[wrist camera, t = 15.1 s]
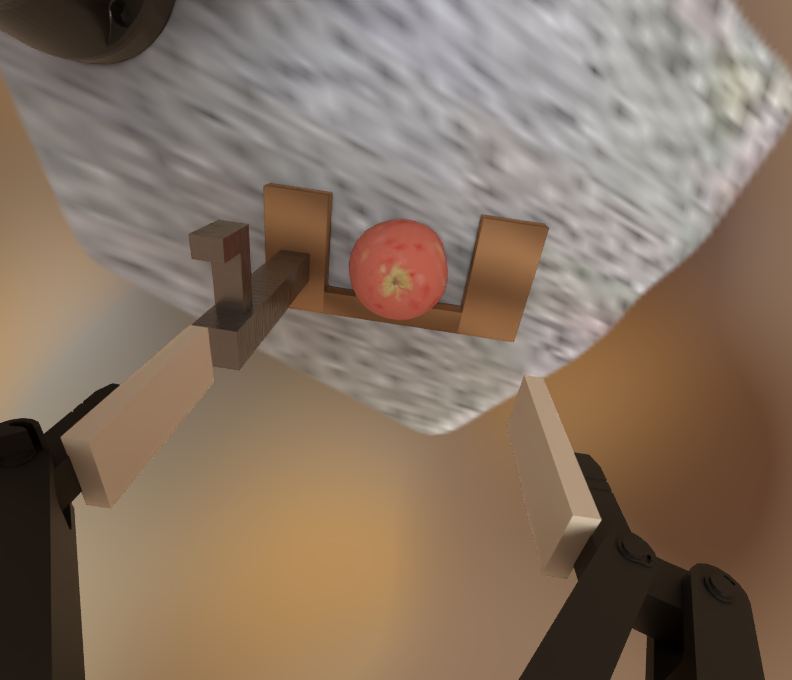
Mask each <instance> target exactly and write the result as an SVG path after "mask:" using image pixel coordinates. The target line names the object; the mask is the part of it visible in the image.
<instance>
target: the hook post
mask: <svg viewBox="0 0 792 680" xmlns="http://www.w3.org/2000/svg"><path fill="white" fill-rule="evenodd" d="M189 241H190V249H191V257H192V259H196V260H203V261H210V262H211V264H212V274H213V284H214V295H215V305H214V306H213V307H212V308H211V309H210V310H208V311H207V312H206V313H205V314H204V315H202V316H201V317H200V318H199V319H198V320H197V321H195V322H194V323H193V324H192V325H194V326H200V327H207V328H208V333H209V342H210V350H211V359H212V366H215V367H221V368H228V369H234V370H240V369H241V368H242V366H243V365H244V364H245V363H246V361H247V360H248V359H249V357H250V356H251V355H252V354H253V352H254V351H255V350H256V348H257V347H258V346H259V345H260V343H261V342H262V341H263V340H264V338H265V337H266V336H267V334H268V333H269V332H270V331H271V329H272V328H273V327H274V325H275V324H276V323H277V322H278V320H279V319H280V318H281V316H282V315H283V314H284V313H285V311H286V310H287V309H288V307H289V306H290V305H291V304H292V302H293V301H294V300H295V299H296V297H297V296H298V295H299V293H300V292H301V291H302V290H303V288H304V287H305V286H306V284H307V283H308V282H309V263H310V254H308V253H301V252H295V251H288V250H280V251H278V252H277V253H276V254H275V255H274V256H273V257H271V258H270V259H269V260H268V261H267V262H265V263H264V264H263V265H262V266H261V267H259V268H258V269H257V270H256V271H255V272H254V273H252V274H251V264H250V244H249V224H243V223H236V222H229V221H223V220H218V221H215V222H213V223H211V224H209V225H207V226H205V227H202V228H200V229H198V230H196V231H194V232H192V233H190V234H189Z"/></svg>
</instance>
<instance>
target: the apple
mask: <svg viewBox="0 0 792 680" xmlns="http://www.w3.org/2000/svg"><path fill="white" fill-rule="evenodd" d="M349 275H350V280H351V284H352V287H353V290H354V292H355V294H356V296H357V298H358V299H359V300H360V302H361V303H362V304H363V305H364V306H365V307H366V308H367V309H369V310H370V311H372V312H373V313H374V314H377V315H379V316H382V317H384V318H388V319H394V320H408V319H412V318H415V317H418V316H421V315H422V314H424V313H426V312H428V311H429V310H430V309H431V308H432V307H434V306H435V305H436V304H437V303H438V301H439V299H440V298H441V296H442V295H443V293H444V291H445V287H446V284H447V261H446V255H445V252H444V248H443V244H442V242H441V241H440V239H439V237H438V236H437V234H436V233H435V232H434V231H433V230H431V229H430V228H428V227H427V226H426V225H423V224H420V223H417V222H415V221H409V220H390V221H386V222H383V223H379V224H377V225H375V226H374V227H372V228H370V229H368V230H367V231H366V232H365V233H364V234H363V235H362V236H361V237H360V238H359V239H358V240H357V242H356V244H355V246H354V248H353V251H352V253H351V257H350V261H349Z"/></svg>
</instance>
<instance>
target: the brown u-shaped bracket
mask: <svg viewBox="0 0 792 680" xmlns="http://www.w3.org/2000/svg"><path fill="white" fill-rule="evenodd" d="M331 209H332V192H327V191H320V190H314V189H307V188H300V187H293V186H287V185H280V184H273V183H269V184H267V185H264V218H265V252H266V262H267V261H268V260H269V259H270V258H271V257H273V256H274V255H275V254H276V253H277V252H278V251H280V250H288V251H295V252H301V253H308V254H310V263H309V282H308V283H307V284H306V286H305V287H304V288H303V290H302V291H301V292H300V293H299V295H298V296H297V297H296V299H295V300H294V301H293V302H292V304H291V305H290V306H289V307H288V308H293V309H299V310H306V311H313V312H319V313H326V314H332V315H339V316H345V317H352V318H359V319H365V320H372V321H378V322H385V323H391V324H398V325H404V326H411V327H418V328H424V329H431V330H437V331H444V332H450V333H457V334H464V335H470V336H477V337H483V338H490V339H496V340H503V341H509V342H514V341H515V337H516V334H517V331H518V328H519V324H520V321H521V318H522V315H523V311H524V308H525V305H526V302H527V298H528V295H529V292H530V289H531V285H532V282H533V279H534V276H535V273H536V269H537V266H538V263H539V260H540V256H541V253H542V250H543V247H544V243H545V240H546V237H547V234H548V230H549V228H548V227H547V226H546V225H545V224H543V223H536V222H529V221H523V220H516V219H509V218H502V217H496V216H489V215H482V216H481V220H480V225H479V229H478V234H477V238H476V242H475V247H474V251H473V256H472V260H471V265H470V269H469V274H468V278H467V283H466V287H465V291H464V296H463V300H462V305H461V306H457V305H451V304H444V303H437V304H436V305H435V306H434V307H432V308H431V309H430V310H429V311H428V312H426V313H424V314H422V315H421V316H418V317H415V318H412V319H408V320H394V319H388V318H384V317H382V316H379V315H377V314H374V313H373V312H372V311H370V310H369V309H367V308H366V307H365V306H364V305H363V304H362V303H361V302H360V300H359V299H358V298H357V296H356V294H355V292H354V290H352V289H345V288H339V287H332V286H328V272H329V251H330V230H331Z"/></svg>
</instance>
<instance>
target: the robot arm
mask: <svg viewBox="0 0 792 680" xmlns="http://www.w3.org/2000/svg"><path fill="white" fill-rule="evenodd" d="M173 3H174V0H0V29H1V30H2V31H4V32H6V33H8V34H9V35H11V36H13V37H14V38H16V39H18V40H20V41H21V42H23V43H25V44H27V45H29V46H31V47H33V48H35V49H37V50H40V51H42V52H45V53H48V54H50V55H53V56H57V57H60V58H65V59H70V60H76V61H82V62H88V63H96V64H107V63H115V62H120V61H123V60H126V59H128V58H131V57H133V56H135V55H137V54H138V53H140V52H141V51H143V50H144V49H145V48H146V47H147V46H149V45H150V44H151V43H152V42H153V40H154V39H155V38H156V37H157V36H158V34H159V33H160V31H161V30H162V28H163V27H164V25H165V23H166V21H167V19H168V17H169V14H170V12H171V9H172V6H173ZM213 383H214V376H213V367H212V359H211V350H210V342H209V333H208V328H207V327H200V326H194V325H189V326H188V327H186V328H185V329H184V330H183V331H182V332H181V333H180V334H178V335H177V336H176V337H175V338H174V339H173V340H172V341H170V342H169V343H168V344H167V345H166V346H165V347H164V348H162V349H161V350H160V351H159V352H158V353H157V354H155V356H153V357H152V358H151V359H150V360H149V361H147V362H146V363H145V364H144V365H143V366H142V367H140V368H139V369H138V370H137V371H136V372H135V373H134V374H132V375H131V376H130V377H129V378H128V379H127V380H126V381H125V382H123V383H122V384H121V385H118V384H113V383H112V384H110V385H108V386H106V387H104V388H102V389H99V390H97V391H95V392H94V393H93V394H92V395H91V396H89V397H88V398H87V399H86V400H84V401H83V404H80V405H78V406H77V407H76V408H75V409H74V410H73V412H70V413H69V414H68V415H66V416H65V417H64V418H63V419H61V420H60V421H59V422H58V423H57V424H55V425H54V426H53V427H52V428H51V429H49V430H48V431H47V432H46V433H44V434H43V431H42V429H41V426H40V424H39V422H38V421H35V420H33V419H27V418H20V419H13V420H8V421H5V422H2V423H0V680H85V670H84V654H83V639H82V623H81V609H80V608H81V607H80V593H79V576H78V561H77V544H76V529H75V514H74V507H73V505H72V503H71V502H72V501H73V500H74V499H75V498H76V497H77V496H78V495H79V494H80V492H82V495H83V497H84V500H85V503H86V505H92V506H98V507H104V508H112V507H113V506H114V505H115V503H116V502H117V501H118V500H119V498H120V497H121V496H122V495H123V493H124V492H125V491H126V490H127V489H128V487H129V486H130V485H131V484H132V482H133V481H134V479H136V477H137V476H138V475H139V473H141V471H142V470H143V469H144V468H145V466H146V465H147V464H148V463H149V462H150V460H151V459H152V457H154V455H155V454H156V453H157V451H158V450H159V449H160V448H161V447H162V446H163V444H164V443H165V442H166V441H167V439H168V438H169V437H170V435H171V434H172V433H173V432H174V431H175V430H176V428H177V427H178V426H179V425H180V423H181V422H182V421H183V420H184V418H185V417H186V416H187V415H188V413H189V412H190V411H191V410H192V409H193V407H194V406H195V405H196V404H197V403H198V401H199V400H200V399H201V398H202V396H203V395H204V394H205V393H206V391H207V390H208V389H209V388H210V387H211V385H212V384H213ZM507 429H508V433H509V438H510V442H511V446H512V450H513V454H514V459H515V463H516V467H517V471H518V476H519V480H520V485H521V488H522V493H523V497H524V502H525V506H526V510H527V514H528V518H529V522H530V527H531V531H532V536H533V540H534V544H535V549H536V553H537V557H538V561H539V565H540V570H541V574H542V575H546V576H552V577H559V578H565V579H567V578H568V576H569V574H570V573H571V571H572V569H573V568H574V569H575V572H576V575H577V579H578V582H577V584H576V586H575V587H574V589H573V591H572V592H571V594H570V596H569V597H568V599H567V600H566V602H565V604H564V606H563V607H562V609H561V610H560V612H559V614H558V615H557V617H556V619H555V620H554V622H553V624H552V625H551V627H550V629H549V630H548V632H547V634H546V635H545V637H544V639H543V640H542V642H541V643H540V645H539V647H538V648H537V650H536V652H535V653H534V655H533V657H532V658H531V660H530V662H529V663H528V665H527V667H526V668H525V670H524V672H523V673H522V675H521V677H520V678H519V680H610V679H611V676H612V674H613V672H614V669H615V667H616V665H617V662H618V660H619V658H620V655H621V653H622V651H623V648H624V646H625V643H626V641H627V639H628V636H629V634H630V632H631V629H632V628H633V629H635V630H637V631H639V632H641V633H643V634H645V635H647V649H646V651H647V652H646V678H645V680H765V678H764V673H763V667H762V662H761V657H760V651H759V646H758V641H757V636H756V631H755V625H754V619H753V614H752V609H751V604H750V601H749V599H748V596H747V594H746V593H745V591H744V590H743V589H742V587H741V586H740V585H739V584H738V583H737V582H736V581H735V580H734V579H733V578H732V577H731V576H730V575H729V574H727V573H725V572H724V571H722V570H720V569H719V568H717V567H715V566H712V565H709V564H702V563H700V564H699V563H698V564H696V565H695V566H693V567H692V568H691V569H690V570H689V571H687V570H685V569H682V568H680V567H678V566H675V565H673V564H671V563H668V562H666V561H664V560H662V559H660V558H658V557H656V555H655V552H654V551H653V550H652V549H651V547H650V546H649V545H648V543H646V542H645V541H644V540H643V539H642V538H640V537H639V536H637V535H636V534H634V533H632V532H631V531H630V529H629V526H628V524H627V522H626V520H625V518H624V516H623V514H622V512H621V509H620V507H619V505H618V503H617V501H616V499H615V497H614V495H613V493H611V488H610V486H609V484H608V483H607V482H606V478H605V476H604V474H603V471H602V469H601V467H600V466H599V465H598V464H597V463H596V462H595V461H594V459H593V458H592V457H591V456H590V455H587V454H581V453H574V452H573V449H572V447H571V445H570V442H569V440H568V437H567V435H566V433H565V430H564V428H563V425H562V423H561V421H560V418H559V416H558V413H557V411H556V408H555V406H554V404H553V401H552V399H551V396H550V394H549V392H548V389H547V387H546V384H545V382H544V379H543V378H540V377H533V376H527V375H524V378H523V380H522V383H521V386H520V389H519V392H518V395H517V398H516V401H515V404H514V407H513V410H512V412H511V415H510V418H509V421H508V424H507Z"/></svg>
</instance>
